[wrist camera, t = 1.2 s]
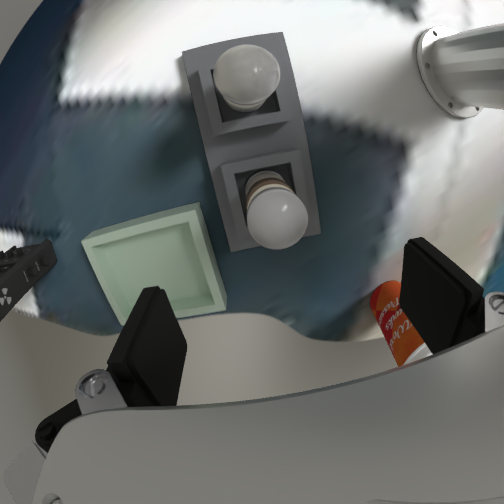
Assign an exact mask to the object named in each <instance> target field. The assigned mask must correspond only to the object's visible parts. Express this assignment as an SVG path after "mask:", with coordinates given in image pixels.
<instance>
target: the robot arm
mask: <svg viewBox="0 0 504 504" xmlns="http://www.w3.org/2000/svg"><path fill="white" fill-rule="evenodd" d="M417 61H418V66H419V70H420V73H421V76H422V79H423V81H424V83H425V85H426V88H427V89H428V91H429V92H430V94H431V96H432V97H433V98H434V100H435V101H436V102H437V103H438V104H439V105H440V106H441V107H442V108H443V109H444V110H445V111H447V112H448V113H449V114H452V115H454V116H456V117H461V118H470V117H474V116H476V115H477V114H479V112H480V111H481V110H482V109H483V108H494V109H503V110H504V23H503V24H497V25H492V26H487V27H482V28H477V29H472V30H468V31H464V32H460V33H458V32H456V31H455V30H453V29H450V28H448V27H443V26H436V27H432V28H430V29H428V30H426V31H425V32H424V33H423V34H422V35H421V37H420V39H419V42H418V46H417ZM483 291H484V289H483V288H482V287H481V286H480V285H479V284H478V283H477V282H476V281H475V280H474V279H472V278H471V277H470V276H469V275H468V274H467V273H466V272H465V271H463V270H462V269H461V268H460V267H459V266H458V265H456V264H455V263H454V262H453V261H452V260H450V259H449V258H448V257H447V256H446V255H444V254H443V253H442V252H441V251H439V250H438V249H437V248H436V247H434V246H433V245H432V244H431V243H429V242H428V241H427V240H425V239H424V238H423V237H419V238H414V239H409V240H408V242H407V244H405V246H404V258H403V270H402V280H401V289H400V298H399V304H400V307H401V309H402V311H403V312H404V313H405V315H406V316H407V318H408V319H409V320H410V322H411V323H412V325H413V326H414V328H415V329H416V330H417V332H418V333H419V335H420V336H421V338H422V339H423V341H424V342H425V344H426V345H427V347H428V348H429V350H430V351H431V353H432V354H433V355H430V356H427V357H425V358H422V359H419V360H417V361H414V362H411V363H408V364H405V365H402V366H399V367H396V368H393V369H390V370H387V371H384V372H380V373H377V374H374V375H370V376H367V377H363V378H359V379H356V380H352V381H348V382H344V383H340V384H336V385H332V386H327V387H323V388H318V389H313V390H308V391H303V392H298V393H293V394H287V395H281V396H275V397H269V398H261V399H254V400H246V401H237V402H227V403H215V404H201V405H185V406H176V405H177V399H178V394H179V388H180V383H181V378H182V372H183V367H184V362H185V357H186V352H187V342H186V339H185V337H184V335H183V333H182V330H181V328H180V326H179V323H178V321H177V319H176V316H175V314H174V312H173V309H172V307H171V304H170V302H169V299H168V297H167V294H166V292H165V290H164V289H160V287H159V286H153V287H147V288H143V290H142V292H141V294H140V295H139V297H138V299H137V301H136V303H135V305H134V307H133V309H132V311H131V313H130V315H129V317H128V319H127V321H126V323H125V325H124V327H123V329H122V331H121V333H120V335H119V337H118V339H117V342H116V344H115V346H114V348H113V350H112V353H111V354H110V357H109V359H108V361H107V364H108V368H107V370H103V369H96V370H92V371H90V372H88V373H86V374H85V375H84V376H83V377H82V378H81V379H80V380H79V381H78V383H77V385H76V389H75V394H76V398H77V399H75V400H74V401H72V402H71V403H69V404H67V405H66V406H64V407H63V408H61V409H60V410H58V411H57V412H55V413H53V414H52V415H50V416H49V417H47V418H45V419H44V420H43V421H42V422H41V423H40V424H39V425H38V427H37V429H36V433H35V439H36V442H35V443H34V442H33V441H31V442H30V443H29V444H28V445H27V446H26V447H25V448H24V449H23V450H22V451H21V452H20V453H19V454H18V455H17V456H16V458H15V459H14V460H13V461H12V462H11V463H10V464H9V465H8V466H7V468H6V469H5V472H4V482H5V485H6V487H7V489H8V490H9V492H10V494H11V495H12V497H13V499H14V501H15V502H16V504H504V293H502V292H492V293H489V294H488V295H487V296H486V297H485V298H484V297H483V296H482V295H483Z"/></svg>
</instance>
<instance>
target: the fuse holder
mask: <svg viewBox="0 0 504 504" xmlns="http://www.w3.org/2000/svg"><path fill="white" fill-rule="evenodd" d="M246 44H249V45H256V46H259V47H262V48H264V49H266V50H267V51H269V52H270V53H271V54H272V55H273V56H274V57H275V59H276V60H277V62H278V64H279V68H280V80H279V84H278V86H277V88H276V89H275V91H274V92H273V93H272V94H271V95H270V96H269V97H268V98H267V99H266V100H265V102H264V103H263V104H262V105H261V106H260V107H259V108H258V109H257V110H255V111H252V112H247V113H242V112H237V111H235V110H233V109H232V108H230V107H229V106H228V105H227V103H226V102H225V100H224V98H223V96H222V94H221V93H220V92H219V90H218V89H217V87H216V85H215V82H214V77H213V71H214V66H215V64H216V62H217V60H218V58H219V57H220V56H221V55H222V54H223V53H224V52H225V51H227V50H228V49H230V48H232V47H235V46H238V45H246ZM182 54H183V59H184V63H185V68H186V72H187V77H188V81H189V86H190V90H191V94H192V99H193V103H194V107H195V111H196V116H197V120H198V124H199V128H200V132H201V137H202V141H203V145H204V149H205V153H206V157H207V161H208V165H209V169H210V173H211V177H212V181H213V185H214V189H215V193H216V197H217V201H218V205H219V209H220V212H221V216H222V220H223V224H224V228H225V232H226V235H227V239H228V243H229V247H230V251H231V252H234V251H239V250H244V249H249V248H254V247H258V246H262V245H260V244H259V243H257V242H256V241H255V240H254V239H253V237H252V236H251V234H250V232H249V229H248V224H247V209H246V193H245V187H246V183H247V180H248V179H249V177H250V176H251V175H252V174H253V173H255V172H256V171H259V170H263V169H269V170H273V171H275V172H277V173H278V174H280V175H281V176H282V178H283V179H284V180H285V182H286V183H287V184H288V185H289V186H290V188H291V189H292V190H293V191H294V193H295V194H296V195H297V197H298V198H299V199H300V200H301V202H302V203H303V204H304V206H305V208H306V211H307V214H308V224H307V228H306V231H305V233H304V235H303V236H302V237H307V236H312V235H317V234H321V229H320V221H319V213H318V206H317V199H316V192H315V185H314V178H313V172H312V166H311V160H310V154H309V148H308V142H307V137H306V131H305V126H304V121H303V116H302V111H301V106H300V101H299V97H298V92H297V88H296V83H295V79H294V75H293V70H292V66H291V62H290V58H289V54H288V50H287V46H286V43H285V39H284V35H283V32H278V33H270V34H262V35H255V36H249V37H243V38H238V39H232V40H227V41H223V42H218V43H214V44H209V45H205V46H201V47H197V48H194V49H190V50H187V51H183V52H182ZM302 237H301V238H302Z"/></svg>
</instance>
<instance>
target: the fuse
mask: <svg viewBox="0 0 504 504" xmlns="http://www.w3.org/2000/svg"><path fill="white" fill-rule="evenodd" d="M213 77H214V82H215V85H216V87H217V89H218V90H219V92H220V93H221V94H222V96H223V98H224V100H225V102H226V103H227V105H228V106H229V107H230V108H232V109H233V110H235V111H237V112H242V113H247V112H252V111H255V110H257V109H258V108H259V107H260V106H261V105H262V104H263V103H264V102H265V100H266V99H267V98H268V97H269V96H270V95H271V94H272V93H273V92H274V91H275V89H276V88H277V86H278V84H279V80H280V68H279V64H278V62H277V60H276V59H275V57H274V56H273V55H272V54H271V53H270V52H269V51H267V50H266V49H264V48H262V47H259V46H256V45H249V44H246V45H238V46H235V47H232V48H230V49H228V50H227V51H225V52H224V53H223V54H222V55H221V56H220V57H219V58H218V60H217V62H216V64H215V66H214V71H213Z"/></svg>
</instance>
